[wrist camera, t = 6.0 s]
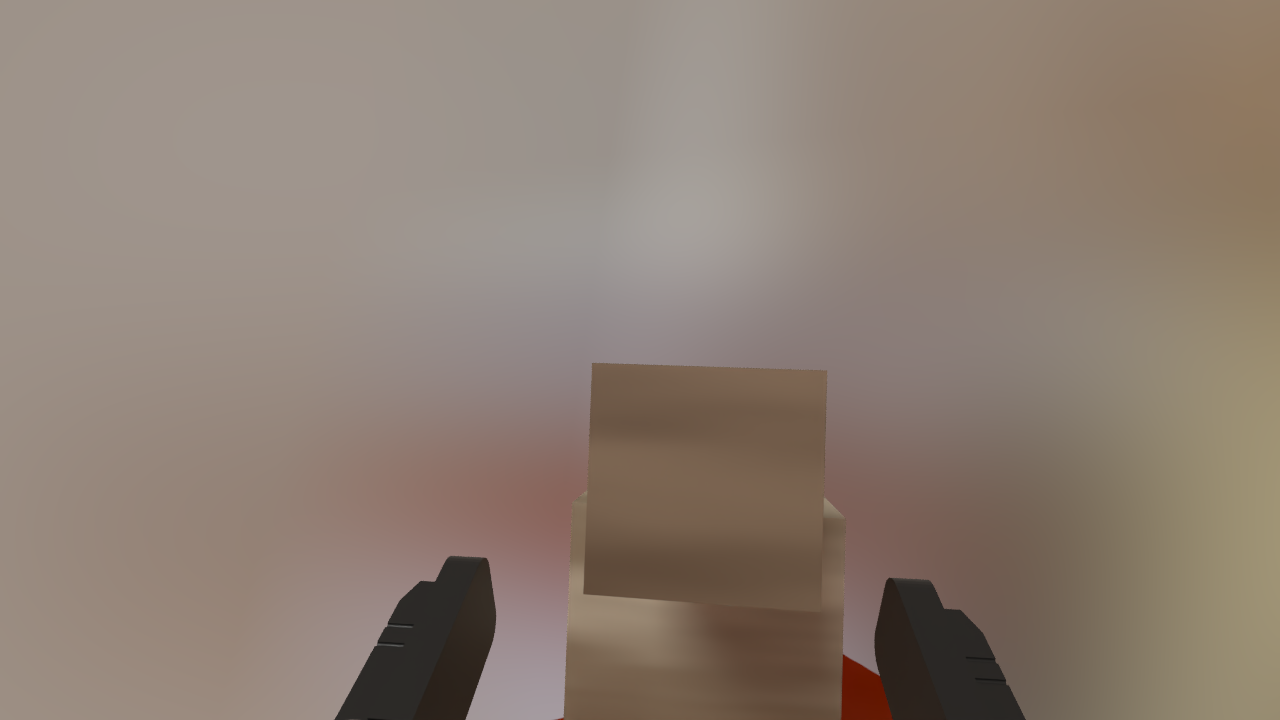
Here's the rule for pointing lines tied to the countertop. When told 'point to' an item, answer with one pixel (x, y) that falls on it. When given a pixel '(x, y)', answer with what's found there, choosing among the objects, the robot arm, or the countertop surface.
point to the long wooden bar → (706, 485)
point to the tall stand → (704, 650)
